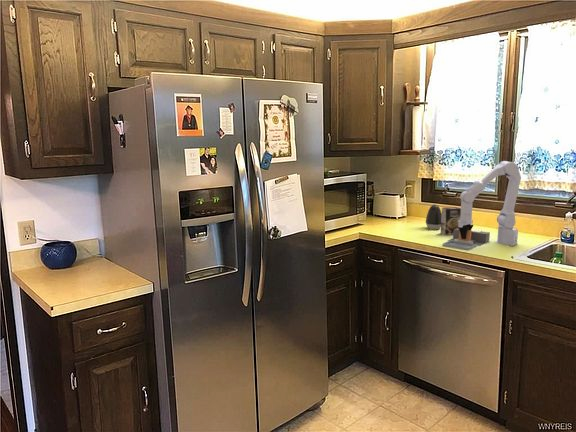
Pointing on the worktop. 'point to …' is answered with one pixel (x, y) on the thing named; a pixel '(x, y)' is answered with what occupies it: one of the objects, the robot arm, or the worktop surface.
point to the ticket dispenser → (473, 237)
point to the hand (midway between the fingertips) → (464, 238)
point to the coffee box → (450, 220)
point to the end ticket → (468, 236)
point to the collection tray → (459, 245)
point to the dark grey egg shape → (434, 217)
